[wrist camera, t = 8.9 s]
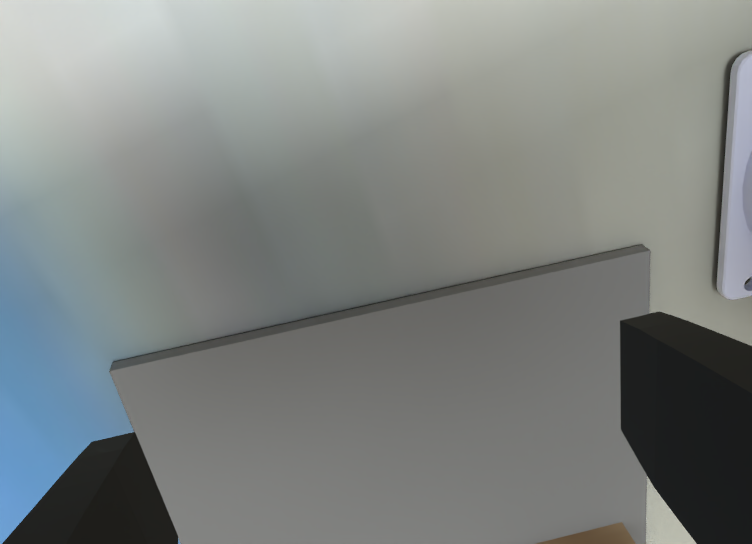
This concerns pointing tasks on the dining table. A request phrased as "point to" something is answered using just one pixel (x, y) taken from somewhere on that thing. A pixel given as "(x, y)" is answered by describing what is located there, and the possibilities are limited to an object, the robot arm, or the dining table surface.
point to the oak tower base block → (597, 536)
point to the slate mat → (405, 417)
